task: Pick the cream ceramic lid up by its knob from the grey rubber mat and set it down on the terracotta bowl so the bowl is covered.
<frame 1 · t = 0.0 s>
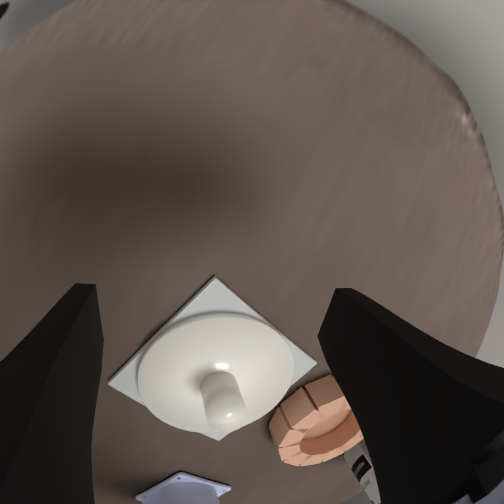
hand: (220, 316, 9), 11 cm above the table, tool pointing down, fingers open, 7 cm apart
supplement can: (367, 437, 34), on the table
bowl: (320, 413, 28), on the table
mat: (215, 375, 23), on the table
lid: (216, 378, 22), resting on mat
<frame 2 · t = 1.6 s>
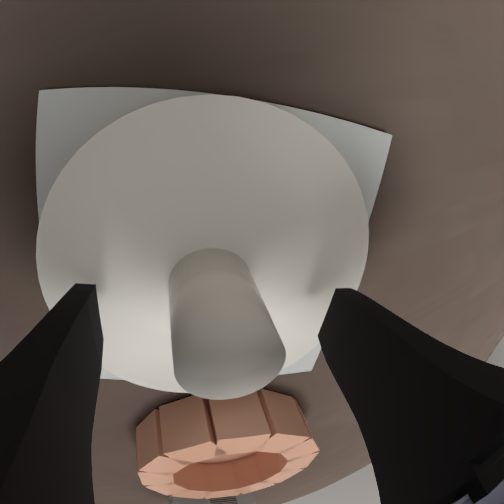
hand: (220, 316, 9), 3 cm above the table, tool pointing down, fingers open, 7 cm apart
supplement can: (208, 488, 24), on the table
bowl: (221, 436, 18), on the table
mat: (205, 267, 11), on the table
lid: (207, 272, 11), resting on mat
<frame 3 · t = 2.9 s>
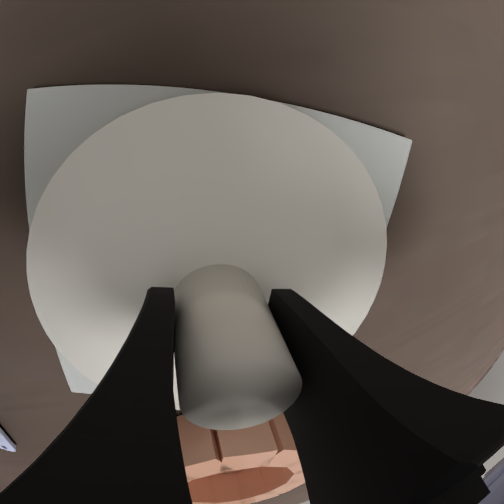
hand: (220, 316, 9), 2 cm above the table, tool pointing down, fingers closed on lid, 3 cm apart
bowl: (225, 448, 17), on the table
mat: (211, 281, 10), on the table
lid: (213, 288, 10), resting on mat, touching gripper
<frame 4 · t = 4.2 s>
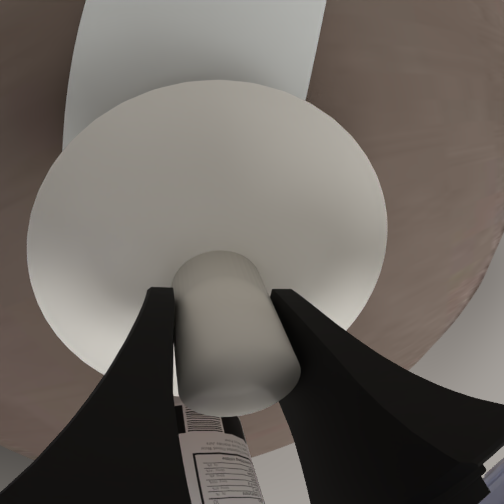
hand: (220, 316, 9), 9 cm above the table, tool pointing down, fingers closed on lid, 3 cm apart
supplement can: (186, 398, 24), on the table
mat: (195, 42, 12), on the table
lid: (213, 274, 10), point 7 cm above the table, touching gripper
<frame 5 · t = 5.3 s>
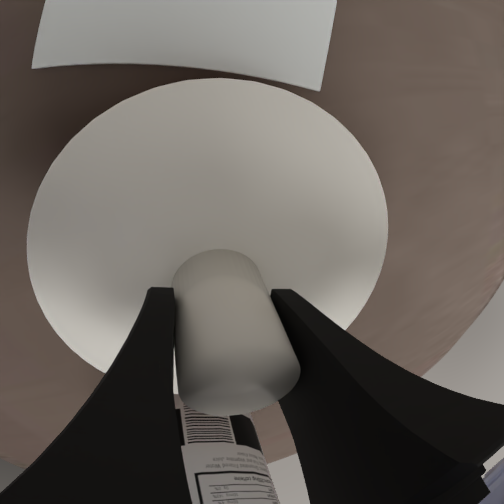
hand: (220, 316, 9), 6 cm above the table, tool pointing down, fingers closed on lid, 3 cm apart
supplement can: (186, 399, 20), on the table
lid: (213, 273, 10), point 4 cm above the table, touching gripper
when the fingers open (6 cm above the table, at t = 5.8 s): lid drops 1 cm, resting on bowl.
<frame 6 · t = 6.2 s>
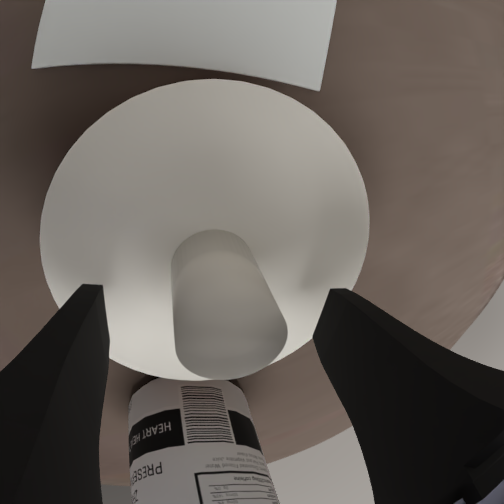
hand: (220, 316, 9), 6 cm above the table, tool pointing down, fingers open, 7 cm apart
supplement can: (186, 399, 20), on the table
lid: (209, 256, 11), point 3 cm above the table, touching bowl
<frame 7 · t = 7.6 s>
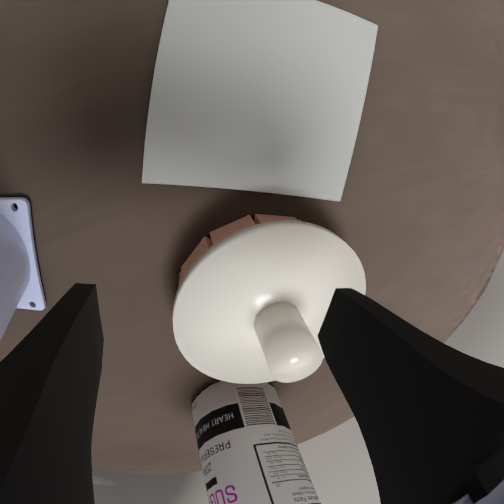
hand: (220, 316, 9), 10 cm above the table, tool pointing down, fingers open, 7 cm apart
supplement can: (233, 397, 27), on the table
bowl: (258, 289, 21), on the table
mat: (266, 86, 15), on the table
lid: (272, 312, 19), point 3 cm above the table, touching bowl
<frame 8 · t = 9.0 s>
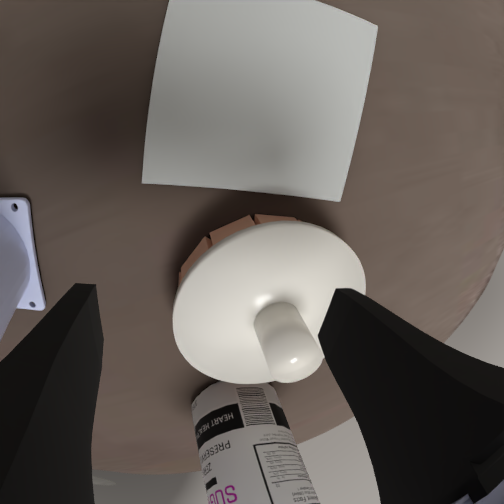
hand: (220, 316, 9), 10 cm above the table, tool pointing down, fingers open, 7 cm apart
supplement can: (232, 397, 27), on the table
bowl: (258, 290, 21), on the table
mat: (266, 86, 15), on the table
lid: (272, 312, 19), point 3 cm above the table, touching bowl
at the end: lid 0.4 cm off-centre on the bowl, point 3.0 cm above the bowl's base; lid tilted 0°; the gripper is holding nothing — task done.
